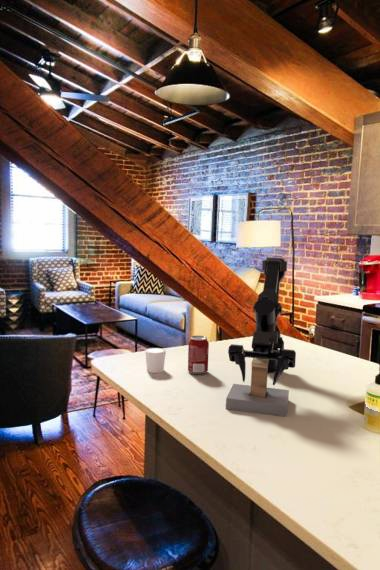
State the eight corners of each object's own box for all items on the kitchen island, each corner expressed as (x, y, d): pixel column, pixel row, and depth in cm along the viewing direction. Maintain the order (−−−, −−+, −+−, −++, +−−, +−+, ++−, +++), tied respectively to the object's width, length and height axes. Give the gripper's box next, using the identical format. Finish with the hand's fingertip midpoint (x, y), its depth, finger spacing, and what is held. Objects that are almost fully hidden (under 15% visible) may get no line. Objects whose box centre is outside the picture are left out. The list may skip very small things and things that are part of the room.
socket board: (233, 393, 134) (233, 383, 134) (288, 400, 130) (288, 390, 130) (225, 408, 123) (226, 398, 122) (286, 416, 119) (286, 405, 118)
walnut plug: (251, 400, 129) (253, 358, 128) (266, 402, 128) (268, 359, 126) (249, 406, 125) (251, 362, 124) (264, 408, 124) (267, 363, 122)
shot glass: (168, 368, 156) (168, 348, 155) (160, 374, 150) (161, 353, 149) (150, 366, 158) (150, 346, 157) (141, 371, 152) (142, 351, 151)
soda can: (205, 376, 149) (207, 340, 148) (185, 374, 151) (186, 339, 149) (209, 370, 156) (210, 335, 154) (189, 368, 157) (190, 334, 156)
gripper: (230, 316, 130) (221, 365, 121) (297, 321, 125) (294, 372, 116) (233, 337, 138) (226, 384, 129) (296, 343, 134) (293, 391, 124)
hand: (258, 382), depth 124 cm, fingers open, 8 cm apart
